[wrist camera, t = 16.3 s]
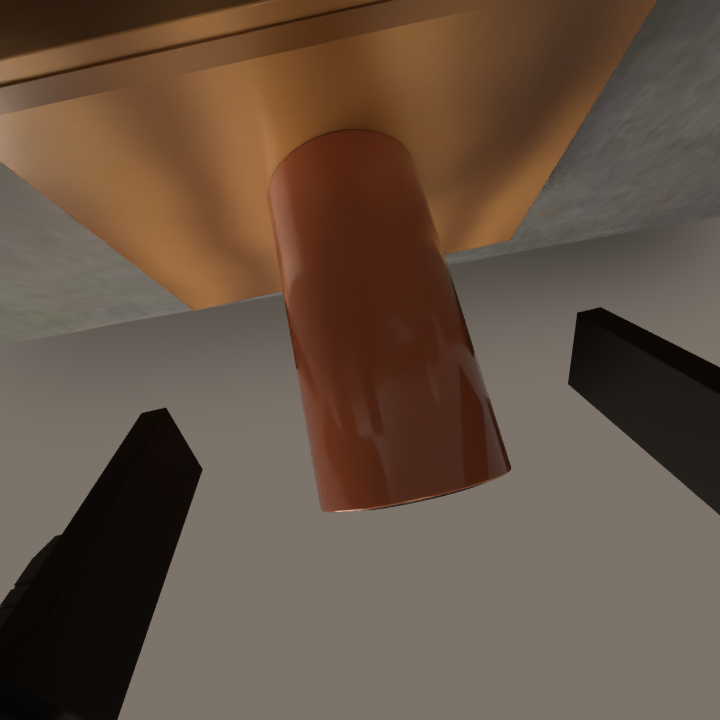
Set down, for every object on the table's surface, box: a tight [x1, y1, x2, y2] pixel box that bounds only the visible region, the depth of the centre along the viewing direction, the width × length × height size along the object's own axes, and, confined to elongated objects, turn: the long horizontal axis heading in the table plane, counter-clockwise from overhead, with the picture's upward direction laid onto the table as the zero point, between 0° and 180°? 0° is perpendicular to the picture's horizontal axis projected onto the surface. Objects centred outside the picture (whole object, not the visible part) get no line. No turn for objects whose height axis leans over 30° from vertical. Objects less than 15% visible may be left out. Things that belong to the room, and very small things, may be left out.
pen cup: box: [267, 129, 511, 512], centre depth 14 cm, size 6×6×12 cm
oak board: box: [0, 0, 657, 310], centre depth 16 cm, size 20×14×3 cm
